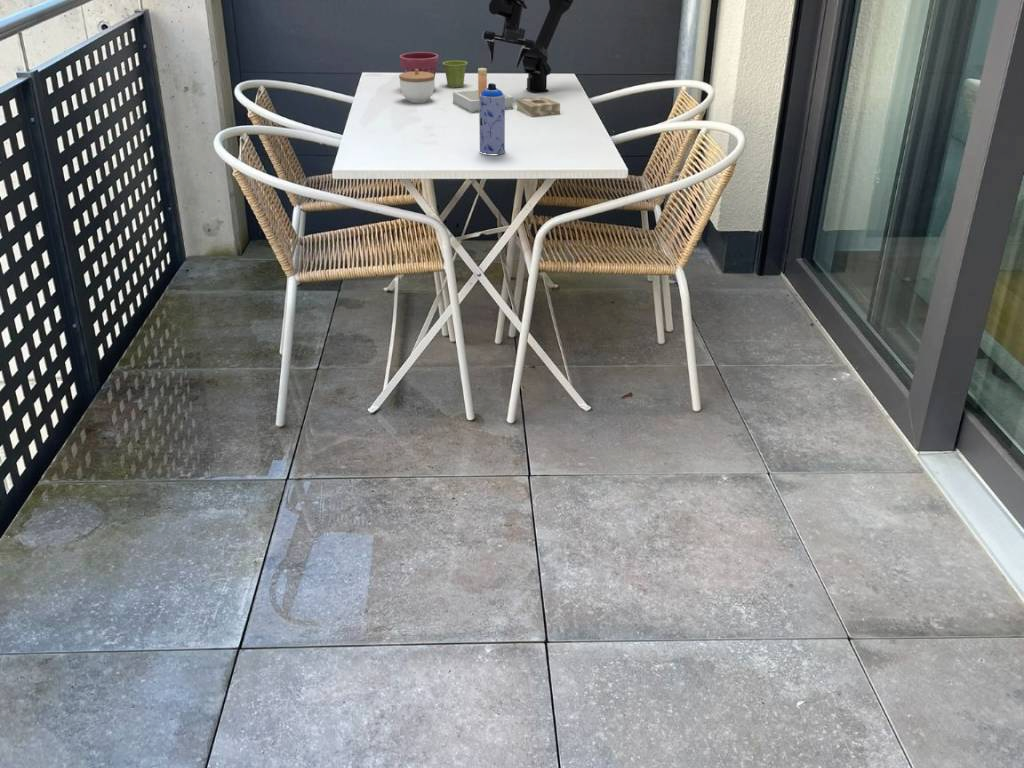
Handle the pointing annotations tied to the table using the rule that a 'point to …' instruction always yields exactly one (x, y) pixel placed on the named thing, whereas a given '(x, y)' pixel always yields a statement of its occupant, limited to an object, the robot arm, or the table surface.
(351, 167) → the table surface
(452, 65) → the plant pot
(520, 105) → the hitch block
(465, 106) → the tray
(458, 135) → the table surface
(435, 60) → the plant pot
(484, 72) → the pin
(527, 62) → the robot arm
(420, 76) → the lidded bowl
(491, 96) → the aerosol can
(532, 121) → the table surface
